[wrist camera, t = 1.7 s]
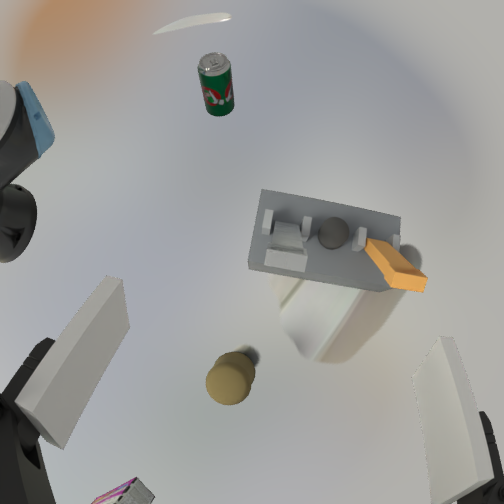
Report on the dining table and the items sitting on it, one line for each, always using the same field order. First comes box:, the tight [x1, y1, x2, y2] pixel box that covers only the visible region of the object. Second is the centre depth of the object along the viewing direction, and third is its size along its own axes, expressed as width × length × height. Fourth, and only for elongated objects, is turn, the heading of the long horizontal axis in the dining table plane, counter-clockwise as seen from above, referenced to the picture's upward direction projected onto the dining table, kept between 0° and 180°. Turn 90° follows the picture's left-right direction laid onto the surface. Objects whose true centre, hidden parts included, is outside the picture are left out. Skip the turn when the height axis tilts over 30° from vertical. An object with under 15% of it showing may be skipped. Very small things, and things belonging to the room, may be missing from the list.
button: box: [318, 217, 349, 250], centre depth 40 cm, size 4×4×2 cm
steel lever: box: [264, 221, 308, 272], centre depth 35 cm, size 2×4×14 cm
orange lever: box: [364, 238, 428, 292], centre depth 35 cm, size 2×4×14 cm
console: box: [248, 189, 401, 292], centre depth 43 cm, size 10×20×9 cm, turn 79°
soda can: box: [198, 53, 234, 116], centre depth 48 cm, size 5×5×12 cm
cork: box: [206, 352, 255, 405], centre depth 39 cm, size 6×6×11 cm
